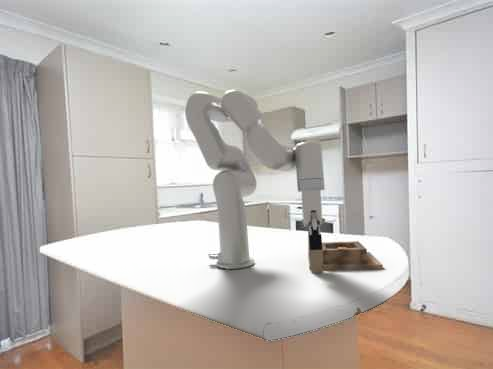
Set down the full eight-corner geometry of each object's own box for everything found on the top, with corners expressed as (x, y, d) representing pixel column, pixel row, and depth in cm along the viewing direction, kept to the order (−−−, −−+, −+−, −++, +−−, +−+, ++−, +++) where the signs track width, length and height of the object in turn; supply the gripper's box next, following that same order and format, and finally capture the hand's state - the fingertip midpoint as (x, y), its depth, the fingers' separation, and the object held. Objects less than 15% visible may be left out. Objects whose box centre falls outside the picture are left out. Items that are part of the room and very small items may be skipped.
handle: (325, 275, 78) (321, 220, 78) (303, 273, 81) (299, 220, 82) (330, 270, 82) (326, 218, 82) (309, 268, 85) (305, 218, 86)
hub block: (309, 270, 84) (308, 251, 84) (308, 256, 100) (307, 241, 100) (382, 269, 80) (381, 249, 80) (369, 255, 96) (368, 238, 96)
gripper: (297, 186, 91) (301, 240, 91) (297, 186, 74) (301, 253, 74) (322, 184, 90) (326, 239, 90) (327, 184, 73) (332, 252, 73)
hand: (315, 245), depth 82 cm, fingers open, 9 cm apart
